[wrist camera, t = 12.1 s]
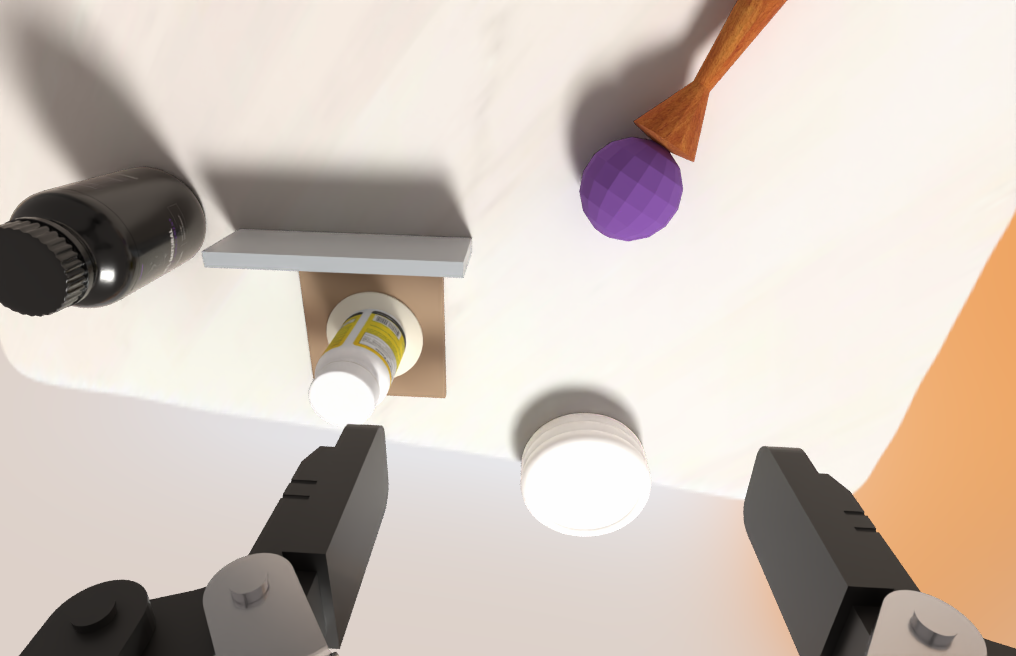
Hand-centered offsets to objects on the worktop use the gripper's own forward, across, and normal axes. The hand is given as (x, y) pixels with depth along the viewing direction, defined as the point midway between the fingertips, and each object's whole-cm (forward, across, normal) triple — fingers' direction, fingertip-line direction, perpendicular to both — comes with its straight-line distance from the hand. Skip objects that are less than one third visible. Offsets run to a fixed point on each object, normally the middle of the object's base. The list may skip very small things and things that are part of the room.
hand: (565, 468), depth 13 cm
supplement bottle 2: (+27, +12, +11) cm, 32 cm away
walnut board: (+28, +12, +11) cm, 32 cm away
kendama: (+28, -8, -7) cm, 30 cm away
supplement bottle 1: (+28, +26, +3) cm, 39 cm away
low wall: (+28, +13, +4) cm, 31 cm away
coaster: (+28, -4, +22) cm, 36 cm away
